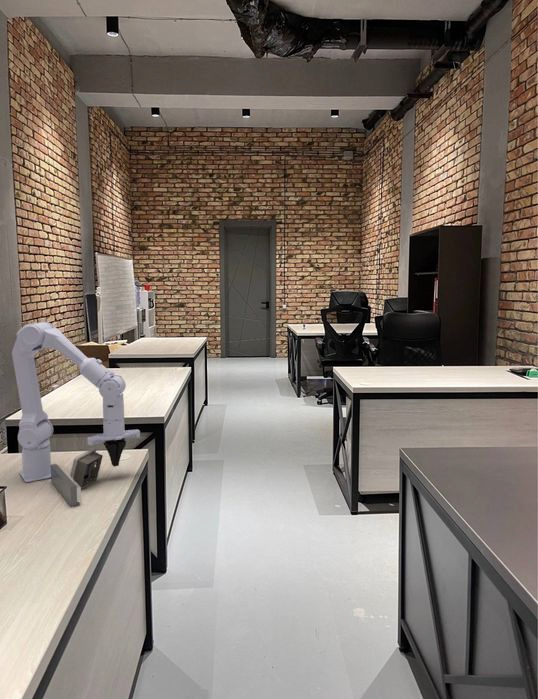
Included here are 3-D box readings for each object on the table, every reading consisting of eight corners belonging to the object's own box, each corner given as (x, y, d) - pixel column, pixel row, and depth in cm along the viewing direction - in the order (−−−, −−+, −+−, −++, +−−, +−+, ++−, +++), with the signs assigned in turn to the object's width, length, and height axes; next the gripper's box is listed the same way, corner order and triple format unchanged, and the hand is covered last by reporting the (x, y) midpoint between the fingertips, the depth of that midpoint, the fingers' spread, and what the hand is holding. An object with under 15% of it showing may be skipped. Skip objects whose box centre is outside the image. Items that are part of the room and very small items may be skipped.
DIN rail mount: (51, 482, 148) (50, 464, 147) (60, 480, 149) (59, 463, 149) (71, 506, 132) (70, 487, 131) (81, 504, 133) (80, 485, 133)
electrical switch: (86, 477, 152) (88, 446, 151) (102, 481, 151) (104, 449, 149) (66, 489, 143) (68, 456, 142) (83, 493, 142) (85, 460, 140)
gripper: (92, 425, 143) (93, 474, 145) (143, 418, 151) (144, 464, 153) (84, 420, 149) (86, 467, 150) (134, 413, 157) (135, 457, 159)
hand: (115, 465), depth 152 cm, fingers closed
